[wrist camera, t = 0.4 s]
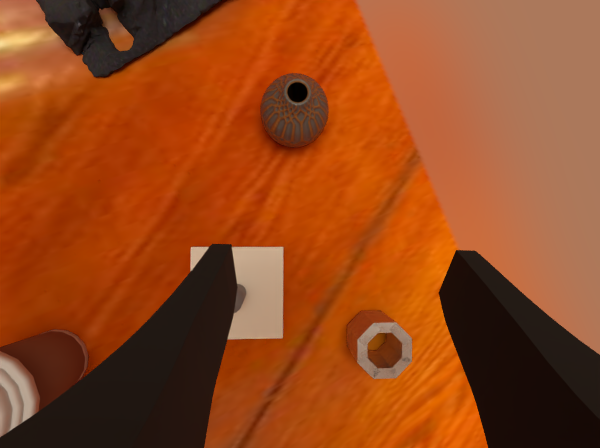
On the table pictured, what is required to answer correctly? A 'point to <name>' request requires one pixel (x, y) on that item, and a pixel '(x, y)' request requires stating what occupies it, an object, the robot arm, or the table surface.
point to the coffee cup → (38, 374)
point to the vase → (294, 110)
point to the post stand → (255, 291)
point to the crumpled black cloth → (134, 17)
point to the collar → (391, 352)
